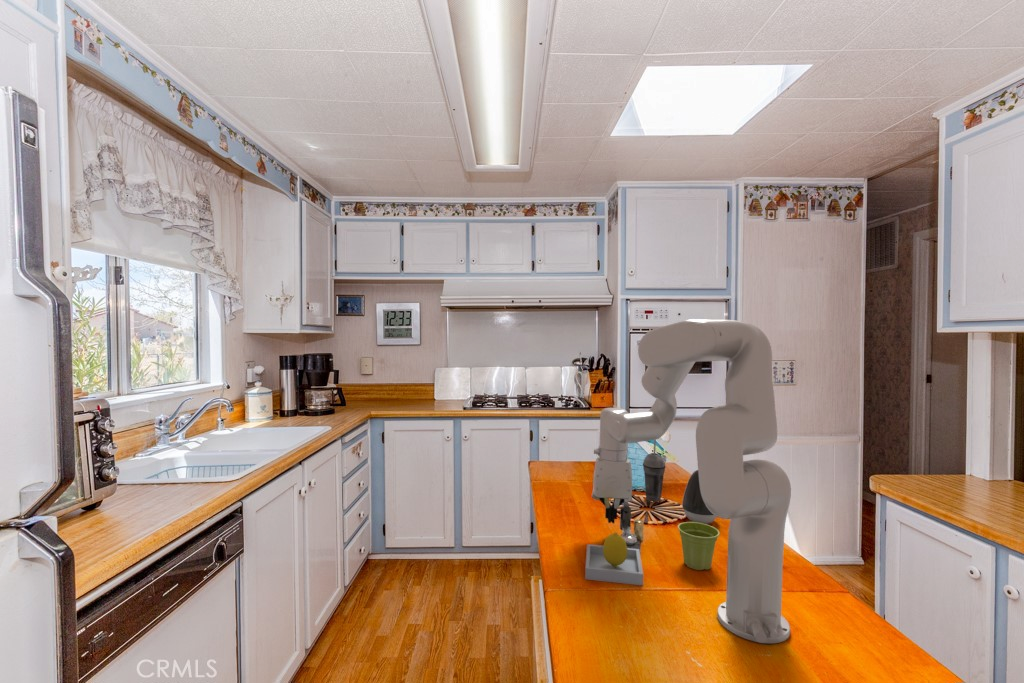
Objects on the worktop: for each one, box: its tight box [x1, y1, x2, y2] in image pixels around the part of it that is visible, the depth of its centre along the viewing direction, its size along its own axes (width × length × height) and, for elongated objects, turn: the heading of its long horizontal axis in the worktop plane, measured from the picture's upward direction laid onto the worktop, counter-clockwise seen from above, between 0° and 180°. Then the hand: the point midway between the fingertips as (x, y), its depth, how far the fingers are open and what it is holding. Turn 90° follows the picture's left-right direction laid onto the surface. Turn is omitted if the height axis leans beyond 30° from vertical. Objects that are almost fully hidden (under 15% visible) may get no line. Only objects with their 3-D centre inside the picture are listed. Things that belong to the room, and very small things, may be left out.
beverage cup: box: [642, 439, 666, 503], centre depth 163 cm, size 7×7×20 cm
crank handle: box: [619, 502, 637, 545], centre depth 130 cm, size 12×4×7 cm, turn 173°
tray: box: [584, 543, 644, 586], centre depth 116 cm, size 13×13×2 cm
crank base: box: [627, 518, 644, 554], centre depth 128 cm, size 12×7×5 cm, turn 170°
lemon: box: [602, 532, 627, 567], centre depth 116 cm, size 6×6×8 cm
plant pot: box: [677, 521, 720, 571], centre depth 119 cm, size 9×9×9 cm
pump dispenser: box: [682, 469, 717, 525], centre depth 146 cm, size 10×10×15 cm
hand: (610, 520), depth 134 cm, fingers closed
